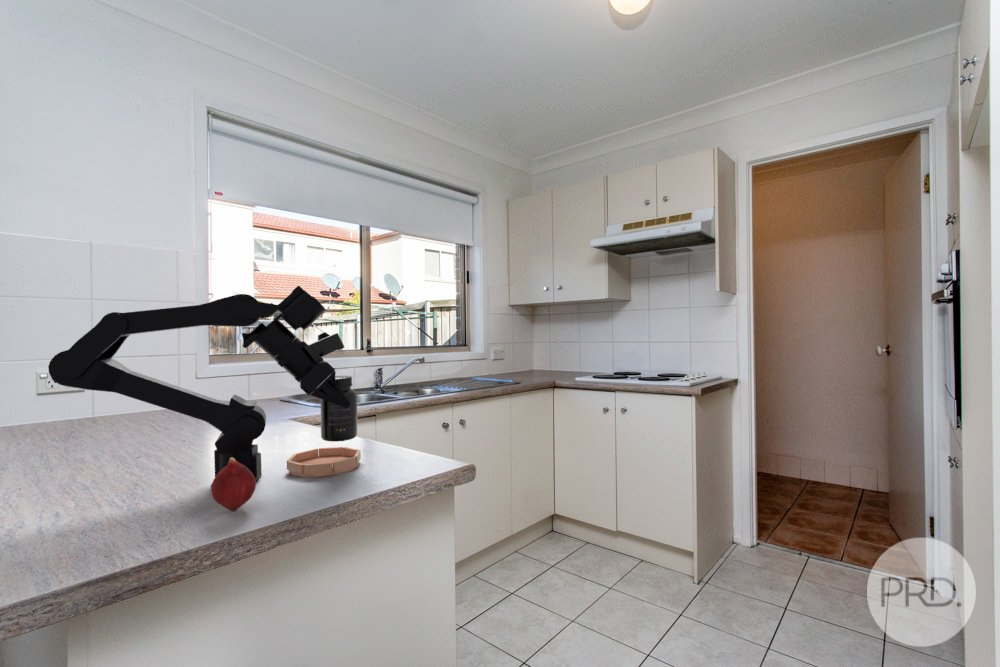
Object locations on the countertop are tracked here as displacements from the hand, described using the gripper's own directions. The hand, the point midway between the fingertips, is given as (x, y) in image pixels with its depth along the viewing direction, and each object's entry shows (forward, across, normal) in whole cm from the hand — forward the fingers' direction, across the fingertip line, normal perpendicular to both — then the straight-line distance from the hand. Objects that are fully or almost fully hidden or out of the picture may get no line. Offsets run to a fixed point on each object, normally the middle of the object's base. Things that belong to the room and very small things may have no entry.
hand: (346, 403), depth 94 cm
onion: (-3, -16, +22) cm, 27 cm away
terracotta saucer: (+6, +2, +12) cm, 13 cm away
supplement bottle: (+4, 0, +6) cm, 7 cm away
